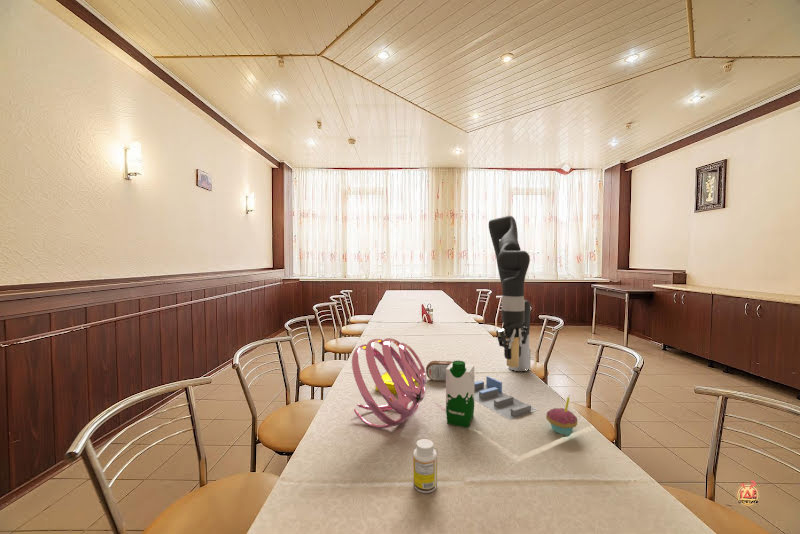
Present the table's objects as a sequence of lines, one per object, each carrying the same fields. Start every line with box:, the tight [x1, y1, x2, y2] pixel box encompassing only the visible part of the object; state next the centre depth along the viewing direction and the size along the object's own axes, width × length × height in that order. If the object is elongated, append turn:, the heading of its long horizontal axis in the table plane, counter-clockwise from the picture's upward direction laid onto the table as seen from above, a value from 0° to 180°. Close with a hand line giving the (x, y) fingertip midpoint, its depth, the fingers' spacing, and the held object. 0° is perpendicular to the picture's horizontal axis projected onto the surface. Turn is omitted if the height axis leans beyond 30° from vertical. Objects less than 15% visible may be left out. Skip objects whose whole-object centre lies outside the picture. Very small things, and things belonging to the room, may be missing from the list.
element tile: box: [374, 370, 419, 396], centre depth 136 cm, size 15×15×5 cm
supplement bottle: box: [412, 438, 438, 494], centre depth 77 cm, size 6×6×10 cm
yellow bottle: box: [506, 337, 519, 368], centre depth 114 cm, size 4×4×12 cm
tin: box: [425, 360, 453, 382], centre depth 143 cm, size 15×3×8 cm, turn 84°
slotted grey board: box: [474, 375, 539, 421], centre depth 121 cm, size 14×26×5 cm, turn 29°
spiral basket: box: [351, 337, 427, 429], centre depth 109 cm, size 28×28×27 cm
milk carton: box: [445, 360, 475, 429], centre depth 108 cm, size 9×9×20 cm
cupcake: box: [545, 394, 578, 438], centre depth 100 cm, size 9×8×12 cm
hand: (512, 357), depth 114 cm, fingers closed on yellow bottle, 4 cm apart
